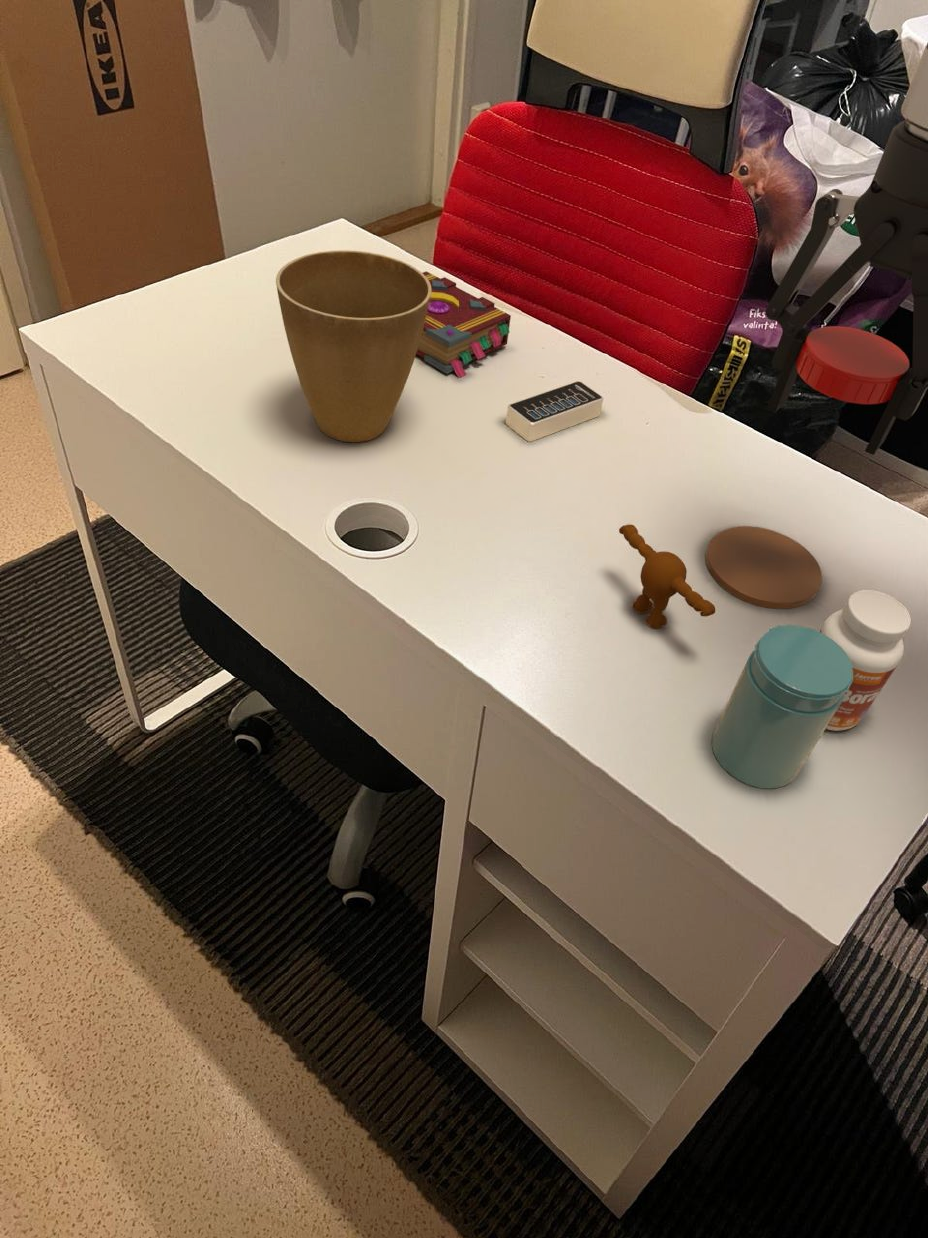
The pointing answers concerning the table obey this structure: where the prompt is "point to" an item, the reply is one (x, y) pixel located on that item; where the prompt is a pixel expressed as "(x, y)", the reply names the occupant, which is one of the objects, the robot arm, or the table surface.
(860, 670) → the pill bottle
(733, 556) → the coaster
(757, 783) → the jar
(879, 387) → the cap
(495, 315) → the decorative book
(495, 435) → the table surface
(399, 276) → the plant pot
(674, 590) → the toy figurine
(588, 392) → the multiport hub
